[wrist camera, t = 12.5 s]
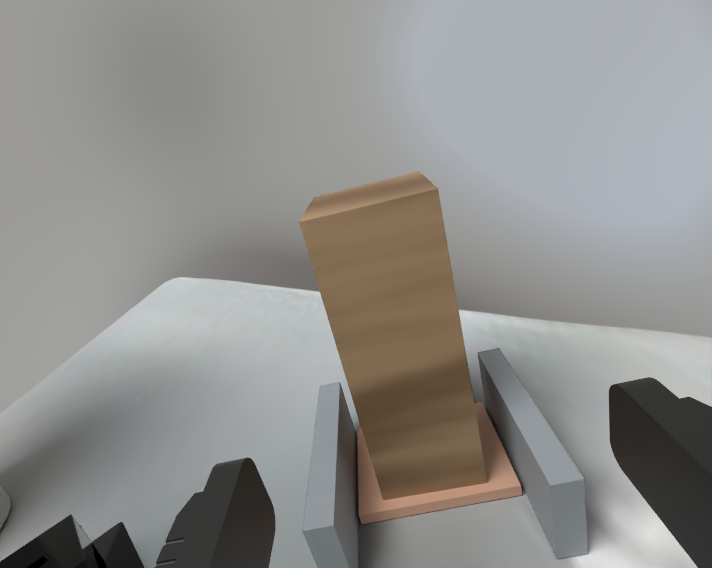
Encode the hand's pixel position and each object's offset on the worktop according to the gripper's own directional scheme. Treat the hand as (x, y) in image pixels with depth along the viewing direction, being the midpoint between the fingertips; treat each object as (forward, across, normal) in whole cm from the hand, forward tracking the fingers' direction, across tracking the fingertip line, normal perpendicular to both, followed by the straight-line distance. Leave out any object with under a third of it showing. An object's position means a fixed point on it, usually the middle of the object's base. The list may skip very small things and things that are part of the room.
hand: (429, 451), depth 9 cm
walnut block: (+10, 0, +10) cm, 14 cm away
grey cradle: (+8, 0, +10) cm, 13 cm away
